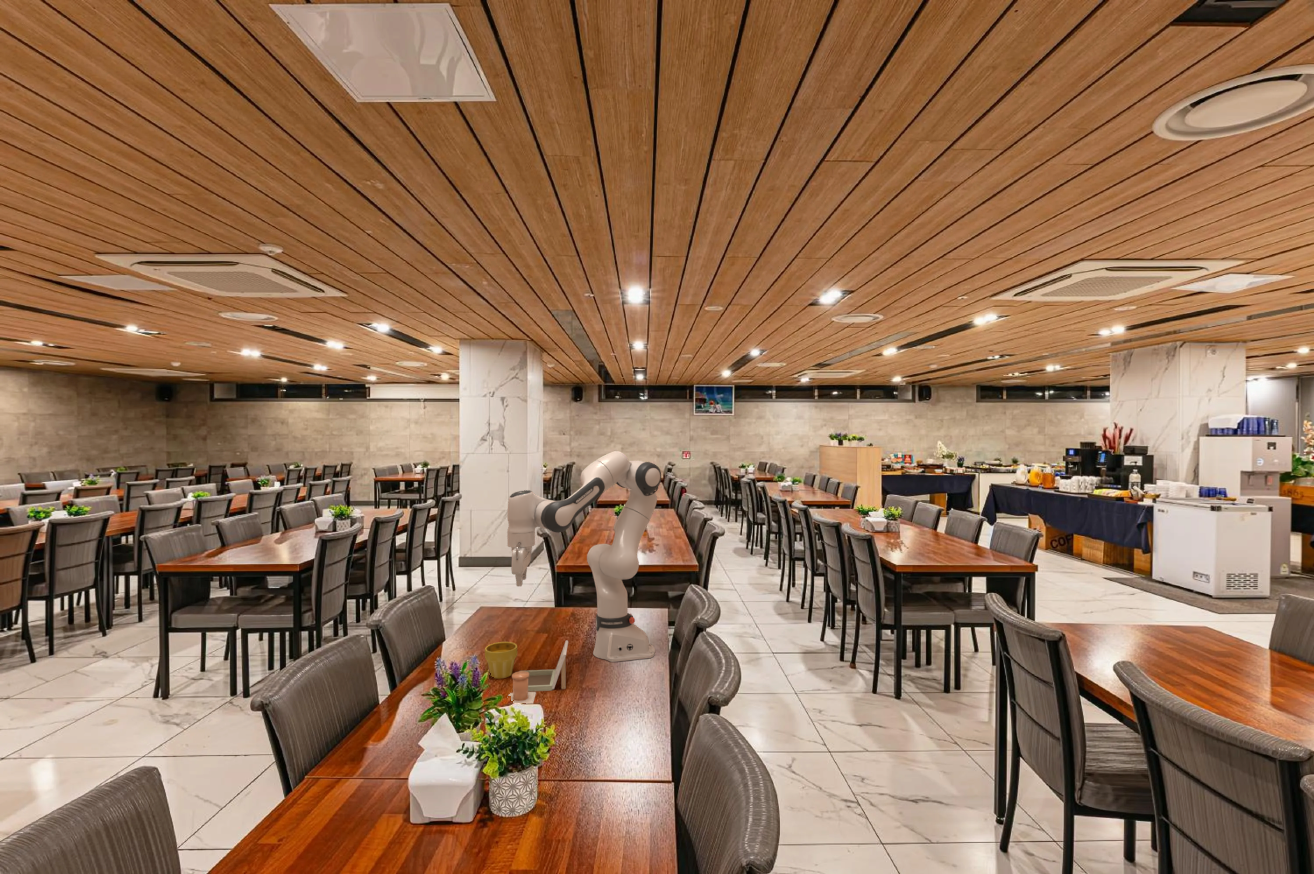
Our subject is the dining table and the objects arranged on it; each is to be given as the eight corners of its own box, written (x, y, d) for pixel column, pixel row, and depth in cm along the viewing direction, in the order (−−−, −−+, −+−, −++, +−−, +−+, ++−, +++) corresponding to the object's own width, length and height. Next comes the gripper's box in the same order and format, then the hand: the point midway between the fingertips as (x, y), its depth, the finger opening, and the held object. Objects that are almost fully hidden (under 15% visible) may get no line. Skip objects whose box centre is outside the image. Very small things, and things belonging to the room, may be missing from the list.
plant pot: (509, 683, 194) (508, 652, 194) (479, 681, 196) (479, 650, 197) (522, 671, 205) (522, 642, 205) (494, 669, 207) (493, 640, 207)
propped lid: (568, 674, 201) (568, 639, 201) (566, 691, 188) (565, 654, 188) (554, 675, 201) (554, 640, 201) (551, 692, 187) (551, 654, 187)
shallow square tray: (555, 675, 201) (555, 669, 201) (552, 692, 187) (552, 685, 187) (519, 676, 200) (519, 670, 200) (513, 693, 186) (513, 687, 186)
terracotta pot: (530, 693, 184) (530, 670, 184) (528, 700, 179) (528, 677, 179) (513, 694, 184) (513, 671, 184) (510, 701, 179) (510, 677, 179)
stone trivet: (536, 694, 186) (535, 691, 186) (533, 705, 178) (533, 702, 178) (509, 695, 185) (509, 692, 185) (505, 706, 177) (505, 704, 177)
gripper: (527, 545, 189) (527, 589, 189) (534, 535, 210) (534, 575, 210) (506, 545, 189) (506, 590, 189) (515, 535, 209) (516, 576, 209)
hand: (521, 582), depth 199 cm, fingers open, 8 cm apart
